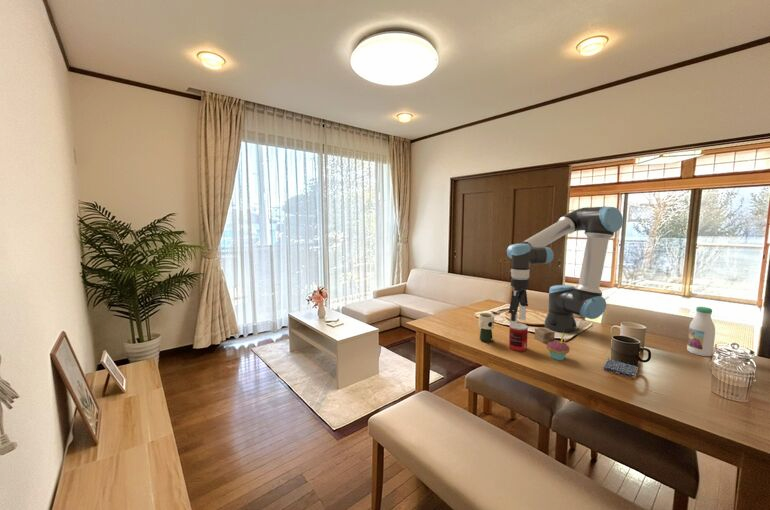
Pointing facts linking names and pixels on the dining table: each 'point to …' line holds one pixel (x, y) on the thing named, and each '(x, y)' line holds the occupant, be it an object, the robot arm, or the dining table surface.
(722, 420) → the dining table surface
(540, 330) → the walnut block
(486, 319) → the character mug
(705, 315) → the milk bottle
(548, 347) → the cupcake
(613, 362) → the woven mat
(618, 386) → the dining table surface
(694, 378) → the dining table surface
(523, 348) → the canned food
